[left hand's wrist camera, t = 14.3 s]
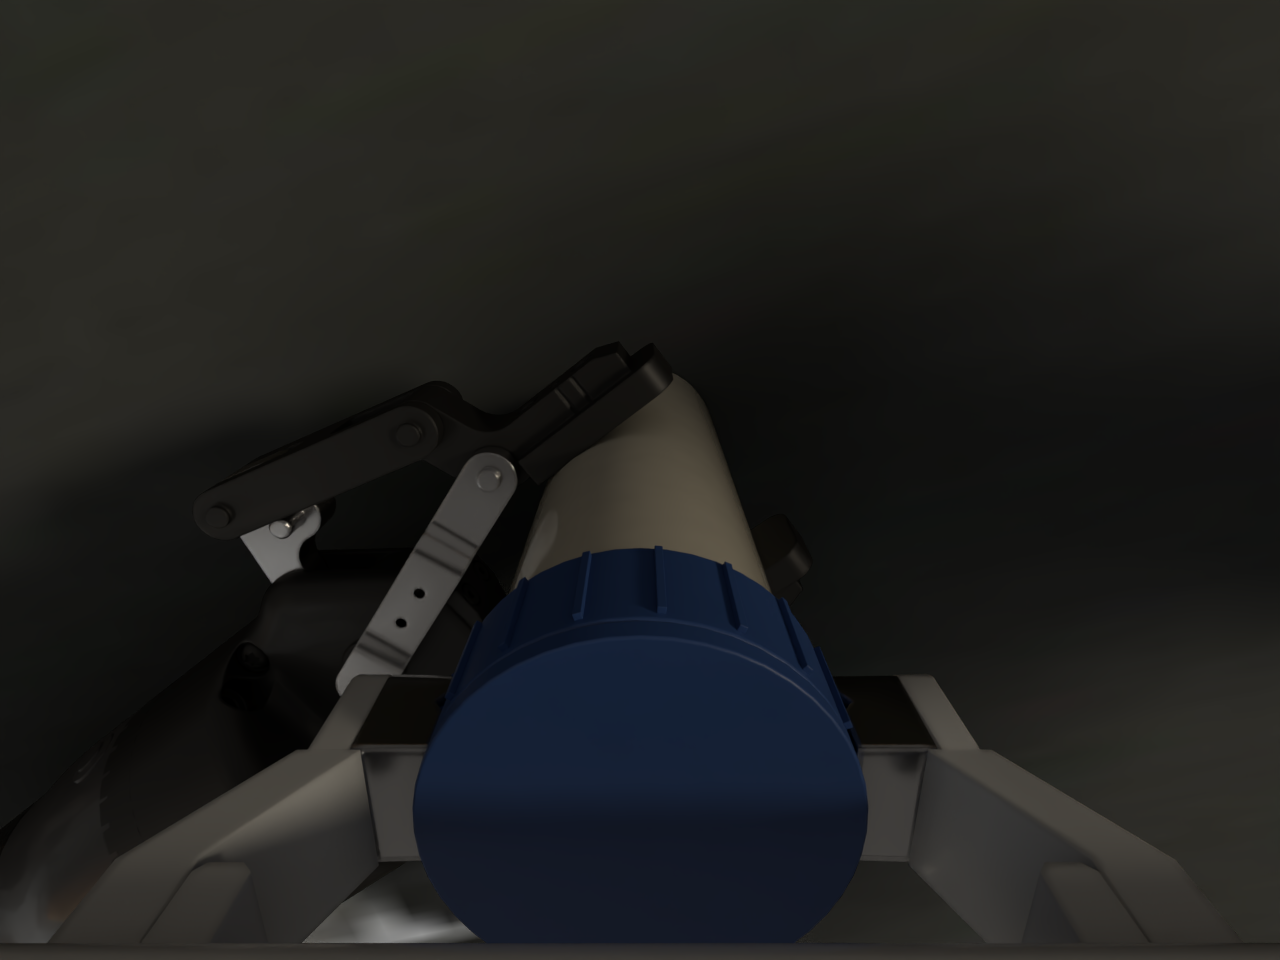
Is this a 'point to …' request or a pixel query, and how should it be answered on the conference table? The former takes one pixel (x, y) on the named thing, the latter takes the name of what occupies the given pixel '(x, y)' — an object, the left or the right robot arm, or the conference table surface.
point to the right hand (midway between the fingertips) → (731, 455)
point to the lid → (640, 762)
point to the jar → (646, 493)
